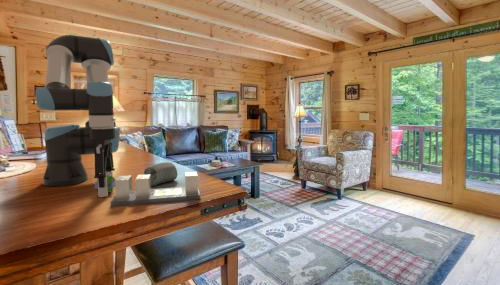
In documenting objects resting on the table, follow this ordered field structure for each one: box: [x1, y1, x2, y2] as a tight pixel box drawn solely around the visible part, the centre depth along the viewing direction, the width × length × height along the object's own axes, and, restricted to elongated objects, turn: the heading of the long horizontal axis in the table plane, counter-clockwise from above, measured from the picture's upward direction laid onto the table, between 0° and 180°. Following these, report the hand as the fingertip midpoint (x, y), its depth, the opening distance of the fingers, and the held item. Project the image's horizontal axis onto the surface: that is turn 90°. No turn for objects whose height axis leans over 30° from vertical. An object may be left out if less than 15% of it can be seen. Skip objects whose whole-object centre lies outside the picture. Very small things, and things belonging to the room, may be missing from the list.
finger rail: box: [110, 171, 201, 208], centre depth 89 cm, size 11×27×8 cm, turn 105°
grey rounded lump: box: [143, 161, 178, 187], centre depth 108 cm, size 14×10×10 cm
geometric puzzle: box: [94, 175, 116, 195], centre depth 93 cm, size 7×7×8 cm
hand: (106, 192), depth 94 cm, fingers closed on geometric puzzle, 8 cm apart
